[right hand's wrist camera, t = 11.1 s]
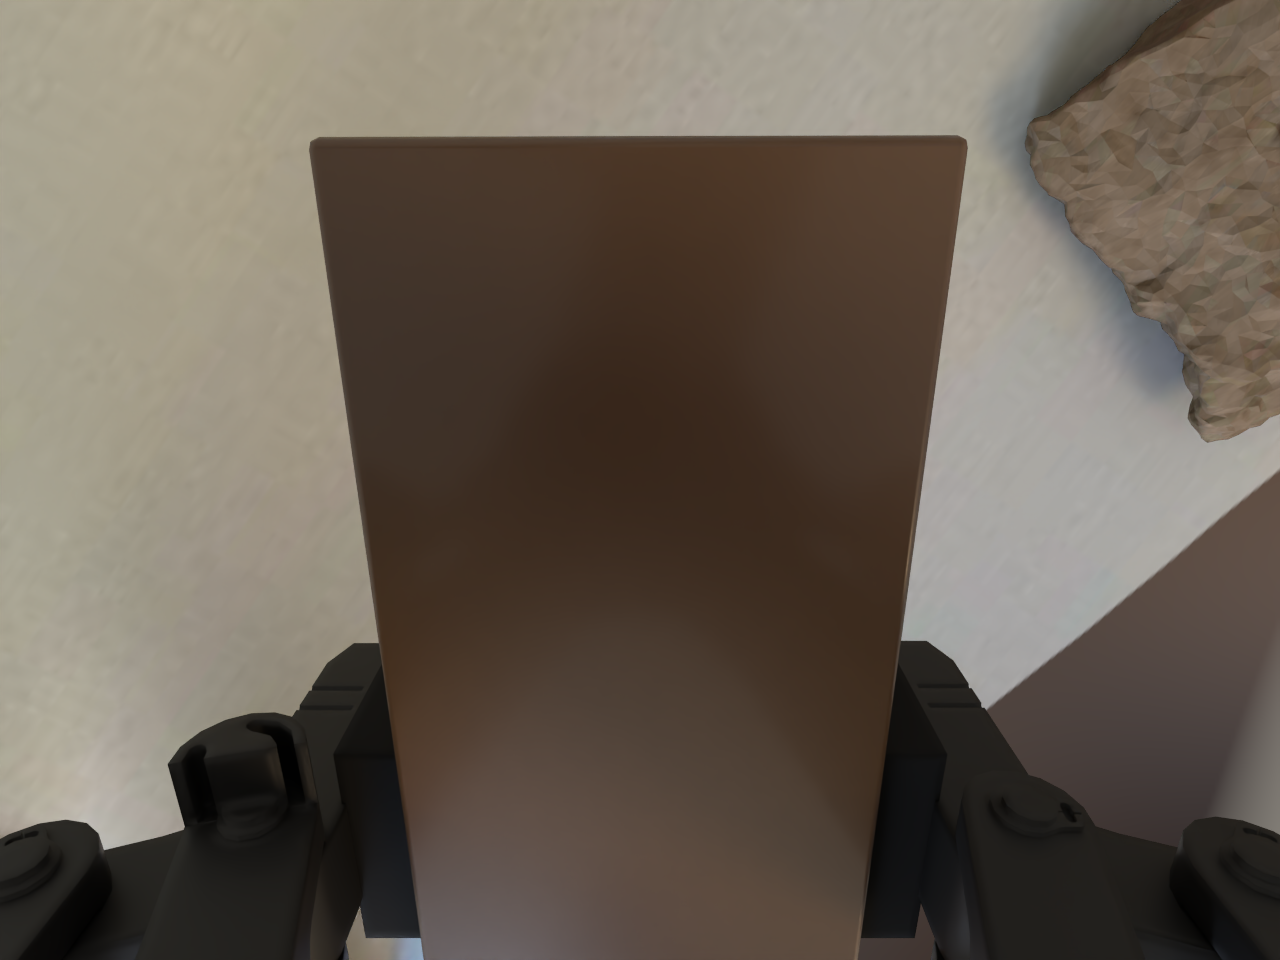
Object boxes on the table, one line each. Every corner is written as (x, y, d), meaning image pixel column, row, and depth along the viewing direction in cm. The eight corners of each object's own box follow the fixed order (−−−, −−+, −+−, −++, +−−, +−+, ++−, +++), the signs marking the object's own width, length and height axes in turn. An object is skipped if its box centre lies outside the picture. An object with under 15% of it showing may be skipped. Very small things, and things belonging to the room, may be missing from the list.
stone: (1499, 277, 39) (1598, 293, 34) (1192, 436, 45) (1235, 471, 40) (1283, -81, 36) (1354, -125, 31) (992, 141, 43) (1008, 137, 38)
